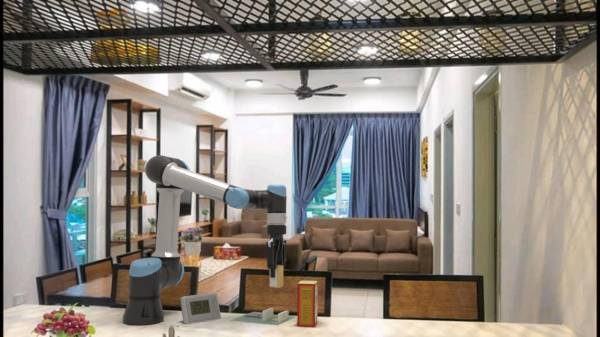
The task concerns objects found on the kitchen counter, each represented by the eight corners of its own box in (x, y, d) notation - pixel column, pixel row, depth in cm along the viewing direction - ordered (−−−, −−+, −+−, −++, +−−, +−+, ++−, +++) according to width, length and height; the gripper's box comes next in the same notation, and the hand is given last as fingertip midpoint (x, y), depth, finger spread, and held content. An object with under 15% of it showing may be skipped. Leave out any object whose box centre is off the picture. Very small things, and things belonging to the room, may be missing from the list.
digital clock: (183, 328, 174) (184, 298, 175) (175, 323, 182) (176, 294, 183) (225, 323, 183) (225, 294, 184) (215, 319, 191) (216, 291, 192)
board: (229, 323, 183) (230, 310, 183) (251, 315, 198) (251, 303, 199) (277, 328, 175) (277, 315, 175) (296, 319, 190) (296, 307, 191)
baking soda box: (300, 321, 188) (301, 279, 189) (317, 322, 187) (317, 279, 189) (297, 326, 178) (297, 282, 180) (314, 327, 178) (314, 283, 179)
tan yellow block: (269, 287, 185) (269, 265, 186) (274, 286, 188) (274, 264, 189) (278, 287, 183) (278, 265, 184) (283, 286, 187) (283, 264, 188)
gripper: (275, 224, 179) (275, 289, 177) (294, 224, 195) (294, 283, 192) (257, 224, 182) (257, 287, 180) (277, 224, 198) (277, 282, 195)
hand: (276, 285), depth 186 cm, fingers closed on tan yellow block, 4 cm apart
